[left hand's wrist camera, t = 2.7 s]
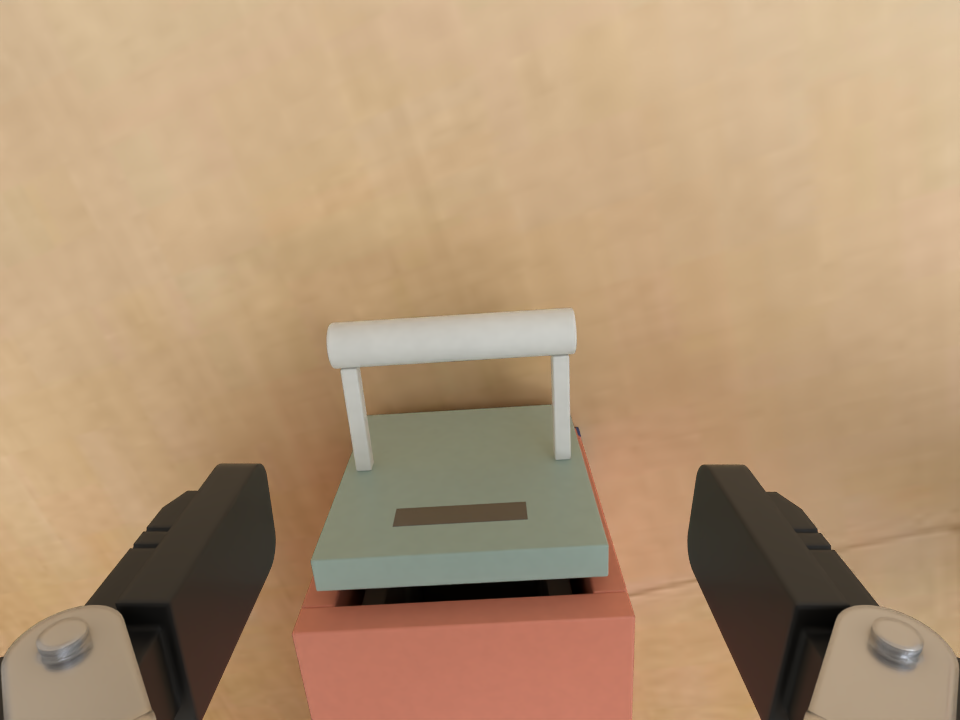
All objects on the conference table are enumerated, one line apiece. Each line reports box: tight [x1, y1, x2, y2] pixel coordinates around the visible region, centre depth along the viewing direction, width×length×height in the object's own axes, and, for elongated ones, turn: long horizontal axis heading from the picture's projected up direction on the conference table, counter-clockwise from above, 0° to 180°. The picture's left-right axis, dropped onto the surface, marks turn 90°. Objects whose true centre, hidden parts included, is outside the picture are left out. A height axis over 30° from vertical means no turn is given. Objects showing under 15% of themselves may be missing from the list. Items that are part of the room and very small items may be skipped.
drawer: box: [311, 308, 609, 605], centre depth 26 cm, size 25×9×10 cm, turn 4°
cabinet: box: [292, 427, 635, 720], centre depth 28 cm, size 21×10×12 cm, turn 4°
